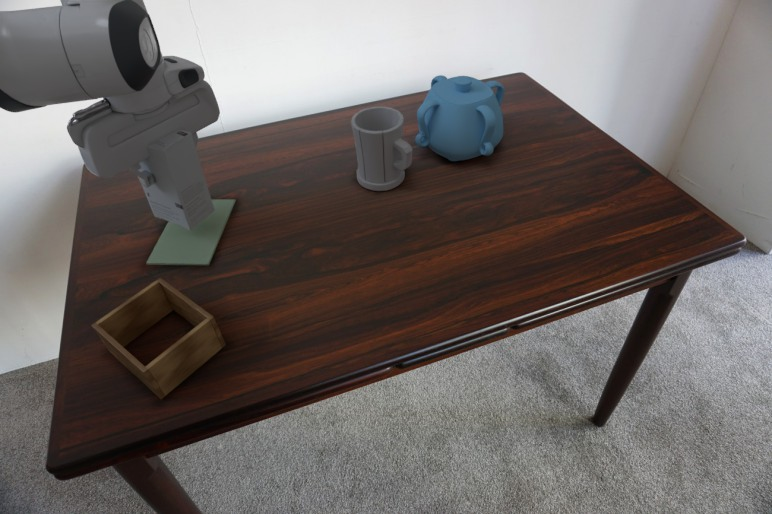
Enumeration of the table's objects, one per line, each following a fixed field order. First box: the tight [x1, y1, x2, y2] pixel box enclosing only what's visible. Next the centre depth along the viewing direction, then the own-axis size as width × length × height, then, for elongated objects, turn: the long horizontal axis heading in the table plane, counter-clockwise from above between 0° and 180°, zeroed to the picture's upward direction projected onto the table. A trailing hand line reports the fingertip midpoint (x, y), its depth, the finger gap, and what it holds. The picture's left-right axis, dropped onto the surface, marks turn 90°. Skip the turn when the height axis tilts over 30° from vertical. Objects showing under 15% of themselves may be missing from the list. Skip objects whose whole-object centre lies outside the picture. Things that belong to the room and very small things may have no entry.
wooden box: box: [91, 277, 226, 400], centre depth 68 cm, size 10×12×6 cm
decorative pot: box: [414, 74, 505, 162], centre depth 98 cm, size 16×16×14 cm
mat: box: [145, 198, 237, 267], centre depth 87 cm, size 16×10×1 cm, turn 177°
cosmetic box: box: [138, 130, 215, 230], centre depth 79 cm, size 8×6×15 cm
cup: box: [350, 105, 413, 192], centre depth 91 cm, size 10×9×12 cm
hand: (170, 171), depth 79 cm, fingers closed on cosmetic box, 6 cm apart
